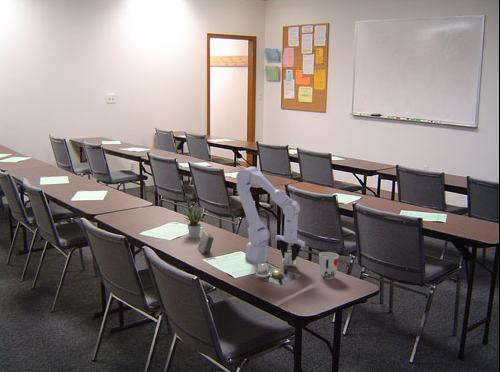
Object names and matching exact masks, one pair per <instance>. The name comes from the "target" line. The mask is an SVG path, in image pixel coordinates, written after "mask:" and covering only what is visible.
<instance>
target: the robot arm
mask: <svg viewBox="0 0 500 372" xmlns="http://www.w3.org/2000/svg"><path fill="white" fill-rule="evenodd" d="M235 178H236V180H237V181H236V191H237V195H238V197H239V200H240V203H241V206H242V208H243V210H244V211H243V212H244V214H245V217H246V220H247V223H248V229H247V233H248V243H247V244H246V246H245V249H244V251H245V253H244V255H245V258H244V259H245V260H246V261H248V262H249V261H250V262H252V263H255V264H258V263H267V258H268V257H267V255H268V254H267V252H268V251H267V250H268V240H269V239H270V236H271V235H270V231H269V229H267V227H266V225H265V224H264V223H263V222H262V221H261V219H260V216H259V212H258V210H257V207H256V204H255V201H254V198H253V195H252V192H251V190H250V188H251V187H252V185H253V184H254V185H255V184H256V185H259V187H261V188H262V189H263V190H264V191H265V192H267V193H268V194H270V196H271V200H272V201H273V202H274V203H275V204H276V205H278V207H279V208H280V209H282V214H283V215H284V223H283V224H284V225H283V226H284V227H283V235H282V234H281V235H279V234H277V235H275V241H279V242H278V243H277V244H278V246H279V248H280V252H281V256H282V259H284V251H287V250H288V247H289V245H290V244H291V245H290V249H291V250H290V251H292V261H294V260H296V261H297V257H298V254H299V252H300V250H301V248H304V247H305V246H306V241H303V240H301V239H299V238H298V222H299V221H298V220H299V213H300V211H301V206H300V204H299V202H298V201H297V200H293V199H292V198H291V197H289V196H288V195H287V194H286V192H285V190H282V189H277V188H276V187H275V186H274V185H273V184H272V182H270V181H269V180H268V179H267V178H266V177H265V176H264V175H263V173H262V171H261V170H259V168H257V166H254V165H253V166H252V165H251V166H249V167H245V168H241V169H240V170H238V172H237V174H236V175H235Z"/></svg>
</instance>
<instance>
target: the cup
mask: <svg viewBox="0 0 500 372" xmlns="http://www.w3.org/2000/svg"><path fill="white" fill-rule="evenodd" d="M318 257H319V258H318V260H319V261H318V262H319V272H320V275H321V276H322V277H323V279H324V280H333V279H334V278H335V275H336V273H337V269H338V263H339V254H338V253H336V252H333V251H322V252H320V253H318Z"/></svg>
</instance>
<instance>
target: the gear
mask: <svg viewBox="0 0 500 372" xmlns="http://www.w3.org/2000/svg"><path fill="white" fill-rule="evenodd" d="M281 262H282V264H283V265H287V266H292V265H293V266H295V265H296V264H297V259H296V260H294V261H292V250H288V249H287V251H284V258H282V260H281Z"/></svg>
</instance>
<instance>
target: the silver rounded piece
mask: <svg viewBox="0 0 500 372" xmlns="http://www.w3.org/2000/svg"><path fill="white" fill-rule="evenodd" d="M268 269H269V263H267V262H264V263H257V271H256V272H255V275H256V277H258V278H257V279H259V278H268V277H270V272H268ZM256 277H255V278H256Z"/></svg>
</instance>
